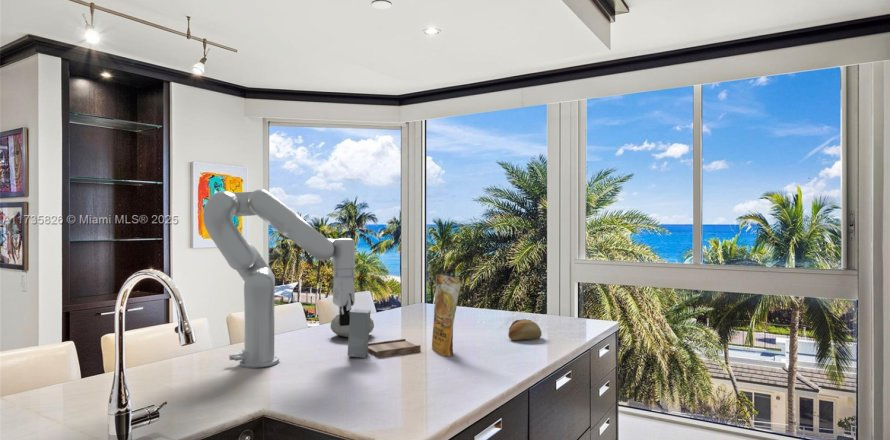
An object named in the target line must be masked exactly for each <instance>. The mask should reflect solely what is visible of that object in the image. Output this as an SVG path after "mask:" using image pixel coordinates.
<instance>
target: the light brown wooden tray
mask: <svg viewBox="0 0 890 440" xmlns="http://www.w3.org/2000/svg"><path fill="white" fill-rule="evenodd" d="M421 346H422V345H421V344H419V345H418V344H417V345H416V344H414V343H412V342H409V341H407V340H406V338H400V339H393V340H391V339H390V340H384V341H377V342H368V354H369V353H370V354H371V355H372V356H374V357H376V358H383V357H391V356H398V355H405V354H411V353H419V352H421V348H422V347H421Z"/></svg>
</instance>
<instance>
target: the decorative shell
mask: <svg viewBox="0 0 890 440" xmlns="http://www.w3.org/2000/svg"><path fill="white" fill-rule="evenodd" d="M351 311H352V310H350V312H351ZM374 324H375V323H374V320H373V319H372V318H371V317H370V326H369V334H370V333H372V332H373V330H374V328H375V325H374ZM330 330H331V331H332V332H333V333H334V334H335V335H337V336H339V337H344V338H348V339H349V325H347V326H341V325H339V313H338V314H337V315H336V316H335V317H333V319H332V320H331V322H330Z"/></svg>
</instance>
